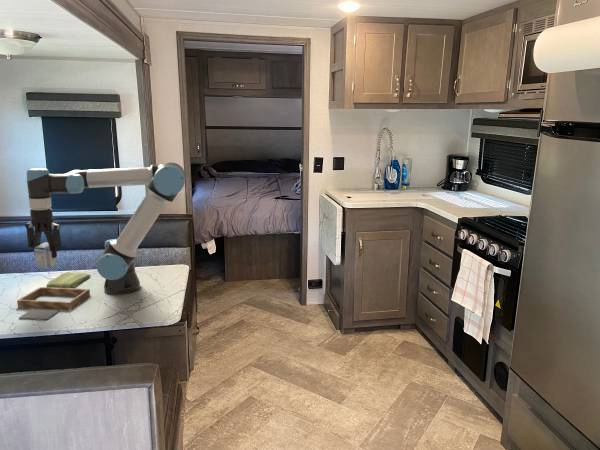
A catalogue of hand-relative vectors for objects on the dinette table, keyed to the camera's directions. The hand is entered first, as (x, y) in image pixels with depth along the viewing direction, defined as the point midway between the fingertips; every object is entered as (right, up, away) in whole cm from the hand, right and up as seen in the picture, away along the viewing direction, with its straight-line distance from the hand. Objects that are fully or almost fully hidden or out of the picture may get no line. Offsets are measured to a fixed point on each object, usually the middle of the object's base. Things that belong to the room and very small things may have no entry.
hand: (46, 264), depth 180 cm
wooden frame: (0, -16, +7) cm, 17 cm away
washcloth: (-6, -11, +28) cm, 31 cm away
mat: (+1, -19, -6) cm, 20 cm away
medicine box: (0, -1, 0) cm, 1 cm away
